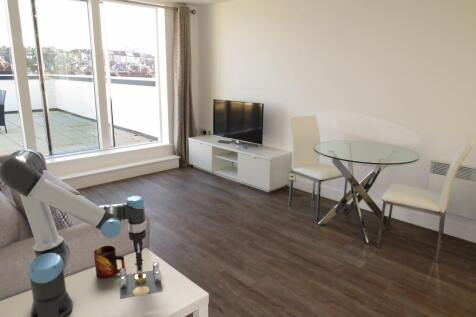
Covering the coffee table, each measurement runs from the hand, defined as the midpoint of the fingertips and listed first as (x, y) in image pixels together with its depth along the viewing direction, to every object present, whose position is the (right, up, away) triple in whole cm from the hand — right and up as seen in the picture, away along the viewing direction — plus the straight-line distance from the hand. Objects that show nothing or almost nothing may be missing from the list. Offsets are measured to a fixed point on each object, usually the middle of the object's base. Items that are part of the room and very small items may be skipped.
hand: (140, 275), depth 162 cm
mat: (+2, -3, -4) cm, 5 cm away
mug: (-15, 0, +4) cm, 15 cm away
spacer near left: (-5, -3, -7) cm, 10 cm away
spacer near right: (+9, -2, -3) cm, 10 cm away
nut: (+1, -2, -3) cm, 3 cm away
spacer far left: (-7, -1, -1) cm, 8 cm away
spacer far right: (+7, 0, +3) cm, 8 cm away
